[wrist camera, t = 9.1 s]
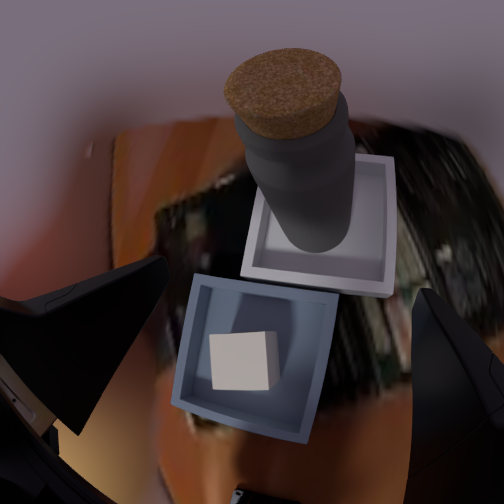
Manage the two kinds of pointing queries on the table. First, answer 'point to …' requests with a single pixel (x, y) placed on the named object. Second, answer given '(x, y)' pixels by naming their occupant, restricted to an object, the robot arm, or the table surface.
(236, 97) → the bottle
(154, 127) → the table surface
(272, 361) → the white cube
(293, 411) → the blue tray
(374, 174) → the grey tray
